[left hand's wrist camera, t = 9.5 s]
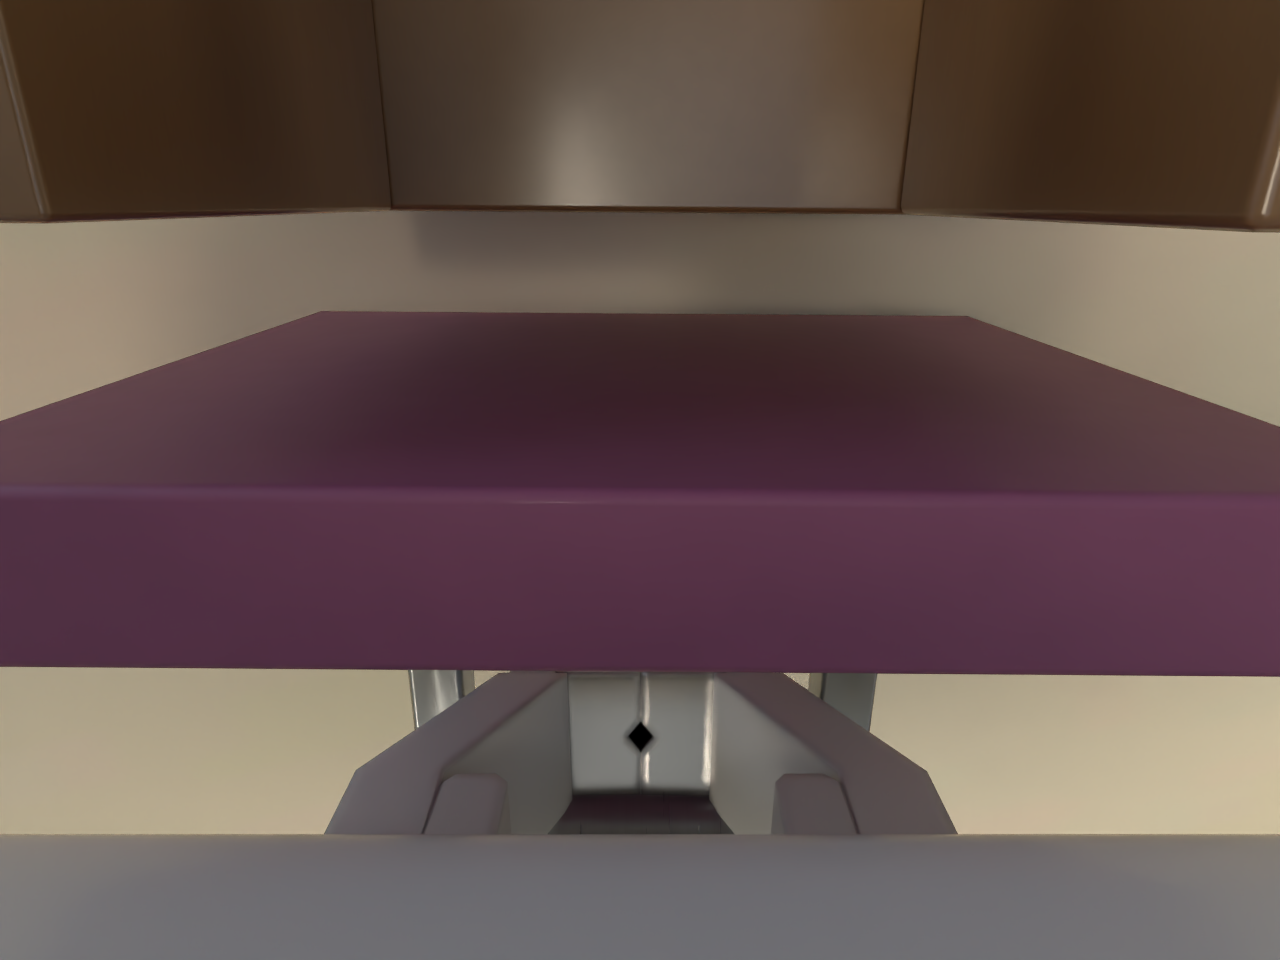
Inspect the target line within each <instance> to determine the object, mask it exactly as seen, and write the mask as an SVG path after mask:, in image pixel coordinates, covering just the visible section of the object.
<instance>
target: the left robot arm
mask: <svg viewBox="0 0 1280 960" xmlns="http://www.w3.org/2000/svg"><path fill="white" fill-rule="evenodd" d="M583 795H671V796H709V800H710V801H711V803H712V804H713V806H714V808H715V810H716V811H717V813H718V814H719V815H720V817H721V818H722V819H723V820H724V822H725V823H726V824H727V825H728V827H729V828H730V829H731V830H732V832H733V833H734V834H548V833H549V831H550V830H551V829H552V828H553V827H554V825H555V824H556V823H557V822H558V820H559V819H560V818H561V817H562V815H563V814H564V813H565V811H566V809H567V808H568V806H569V804H570V803H571V801H572V796H583ZM0 960H1280V834H958V833H957V831H956V829H955V827H954V825H953V823H952V821H951V819H950V817H949V815H948V813H947V811H946V809H945V807H944V805H943V803H942V801H941V799H940V797H939V795H938V793H937V791H936V789H935V787H934V785H933V783H932V781H931V778H930V776H929V774H928V772H927V771H926V770H924V769H923V768H921V767H920V766H918V765H917V764H915V763H914V762H912V761H911V760H909V759H908V758H907V757H905V756H904V755H902V754H901V753H899V752H898V751H896V750H895V749H893V748H892V747H890V746H889V745H887V744H886V743H885V742H883V741H882V740H880V739H879V738H877V737H876V736H874V735H873V734H871V733H870V732H868V731H867V730H865V729H864V728H863V727H861V726H860V725H858V724H857V723H855V722H854V721H852V720H851V719H849V718H848V717H846V716H845V715H843V714H842V713H841V712H839V711H838V710H836V709H835V708H833V707H832V706H830V705H829V704H827V703H826V702H824V701H823V700H821V699H820V698H819V697H817V696H816V695H814V694H813V693H811V692H810V691H808V690H807V689H805V688H804V687H802V686H801V685H799V684H798V683H797V682H795V681H794V680H792V679H791V678H789V677H788V676H786V675H785V674H783V673H760V672H631V671H510V673H498V674H497V675H495V676H494V677H492V678H491V679H489V680H488V681H486V682H485V683H484V684H482V685H481V686H479V687H478V688H476V689H475V690H473V691H472V692H470V693H469V694H467V695H466V696H464V697H463V698H461V699H460V700H458V701H457V702H456V703H454V704H453V705H451V706H450V707H448V708H447V709H445V710H444V711H442V712H441V713H439V714H438V715H436V716H435V717H433V718H432V719H431V720H429V721H428V722H426V723H425V724H423V725H422V726H420V727H419V728H417V729H416V730H414V731H413V732H411V733H410V734H408V735H407V736H406V737H404V738H403V739H401V740H400V741H398V742H397V743H395V744H394V745H392V746H391V747H389V748H388V749H386V750H385V751H383V752H382V753H381V754H379V755H378V756H376V757H375V758H373V759H372V760H370V761H369V762H367V763H366V764H364V765H363V766H361V767H360V768H358V769H357V770H356V771H355V773H354V775H353V777H352V779H351V781H350V783H349V785H348V787H347V789H346V791H345V793H344V795H343V797H342V799H341V801H340V803H339V805H338V807H337V809H336V811H335V813H334V815H333V817H332V819H331V821H330V823H329V825H328V827H327V829H326V831H325V833H324V834H0Z"/></svg>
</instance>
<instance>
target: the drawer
mask: <svg viewBox="0 0 1280 960" xmlns="http://www.w3.org/2000/svg"><path fill="white" fill-rule="evenodd" d="M388 210H392V211H523V212H655V213H787V214H908V215H925V216H945V217H965V218H984V219H1004V220H1024V221H1043V222H1063V223H1083V224H1102V225H1122V226H1142V227H1161V228H1181V229H1201V230H1220V231H1240V232H1280V0H0V223H68V222H95V221H122V220H149V219H175V218H202V217H229V216H256V215H283V214H310V213H337V212H364V211H388ZM0 667H118V668H246V669H374V670H408V675H409V684H410V692H411V701H412V710H413V719H414V728H415V730H416V729H417V728H419V727H420V726H422V725H423V724H425V723H426V722H428V721H429V720H431V719H432V718H433V717H435V716H436V715H438V714H439V713H441V712H442V711H444V710H445V709H447V708H448V707H450V706H451V705H453V704H454V703H456V702H457V701H458V700H460V699H461V698H463V697H464V696H466V695H467V694H469V693H470V692H472V691H473V690H475V683H474V670H503V671H631V672H760V673H810V677H809V688H808V691H810V692H811V693H813V694H814V695H816V696H817V697H819V698H820V699H821V700H823V701H824V702H826V703H827V704H829V705H830V706H832V707H833V708H835V709H836V710H838V711H839V712H841V713H842V714H843V715H845V716H846V717H848V718H849V719H851V720H852V721H854V722H855V723H857V724H858V725H860V726H861V727H863V728H864V729H865V730H867V731H868V732H870V724H871V717H872V709H873V702H874V694H875V687H876V679H877V673H888V674H1016V675H1145V676H1273V677H1280V427H1278V426H1276V425H1273V424H1270V423H1267V422H1264V421H1262V420H1259V419H1256V418H1253V417H1250V416H1247V415H1245V414H1242V413H1239V412H1236V411H1233V410H1230V409H1228V408H1225V407H1222V406H1219V405H1216V404H1214V403H1211V402H1208V401H1205V400H1202V399H1199V398H1197V397H1194V396H1191V395H1188V394H1185V393H1183V392H1180V391H1177V390H1174V389H1171V388H1168V387H1166V386H1163V385H1160V384H1157V383H1154V382H1151V381H1149V380H1146V379H1143V378H1140V377H1137V376H1135V375H1132V374H1129V373H1126V372H1123V371H1120V370H1118V369H1115V368H1112V367H1109V366H1106V365H1103V364H1101V363H1098V362H1095V361H1092V360H1089V359H1087V358H1084V357H1081V356H1078V355H1075V354H1072V353H1070V352H1067V351H1064V350H1061V349H1058V348H1056V347H1053V346H1050V345H1047V344H1044V343H1041V342H1039V341H1036V340H1033V339H1030V338H1027V337H1024V336H1022V335H1019V334H1016V333H1013V332H1010V331H1008V330H1005V329H1002V328H999V327H996V326H993V325H991V324H988V323H985V322H982V321H979V320H976V319H974V318H971V317H968V316H882V315H751V314H620V313H489V312H358V311H321V312H318V313H315V314H312V315H309V316H306V317H303V318H300V319H297V320H294V321H291V322H288V323H286V324H283V325H280V326H277V327H274V328H271V329H268V330H265V331H262V332H259V333H256V334H253V335H251V336H248V337H245V338H242V339H239V340H236V341H233V342H230V343H227V344H224V345H221V346H218V347H216V348H213V349H210V350H207V351H204V352H201V353H198V354H195V355H192V356H189V357H186V358H183V359H181V360H178V361H175V362H172V363H169V364H166V365H163V366H160V367H157V368H154V369H151V370H148V371H146V372H143V373H140V374H137V375H134V376H131V377H128V378H125V379H122V380H119V381H116V382H113V383H111V384H108V385H105V386H102V387H99V388H96V389H93V390H90V391H87V392H84V393H81V394H78V395H76V396H73V397H70V398H67V399H64V400H61V401H58V402H55V403H52V404H49V405H46V406H43V407H41V408H38V409H35V410H32V411H29V412H26V413H23V414H20V415H17V416H14V417H11V418H8V419H6V420H3V421H0ZM548 834H734V833H733V832H732V830H731V829H730V828H729V827H728V825H727V824H726V823H725V822H724V820H723V819H722V818H721V817H720V815H719V814H718V813H717V811H716V810H715V808H714V806H713V804H712V803H711V801H710V800H709V796H671V795H583V796H572V801H571V803H570V804H569V806H568V808H567V809H566V811H565V813H564V814H563V815H562V817H561V818H560V819H559V820H558V822H557V823H556V824H555V825H554V827H553V828H552V829H551V830H550V831H549V833H548Z"/></svg>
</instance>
